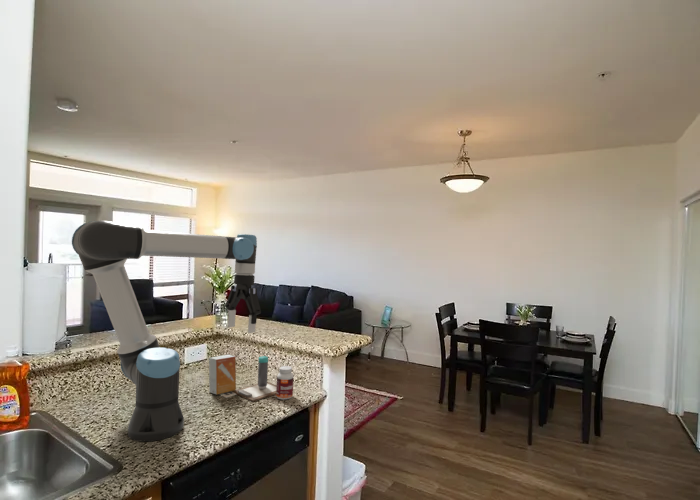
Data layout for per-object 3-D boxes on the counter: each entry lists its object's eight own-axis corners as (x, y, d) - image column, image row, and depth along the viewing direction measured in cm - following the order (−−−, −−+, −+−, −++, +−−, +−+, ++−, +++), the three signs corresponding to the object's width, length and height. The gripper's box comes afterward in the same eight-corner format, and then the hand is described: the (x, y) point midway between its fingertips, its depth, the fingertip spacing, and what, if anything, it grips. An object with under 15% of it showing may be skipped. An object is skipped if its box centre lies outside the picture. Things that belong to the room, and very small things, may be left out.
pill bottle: (279, 401, 143) (280, 371, 143) (273, 395, 149) (274, 366, 149) (295, 398, 147) (296, 369, 147) (289, 393, 152) (289, 364, 152)
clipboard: (252, 401, 142) (252, 398, 142) (232, 392, 150) (232, 388, 150) (286, 390, 154) (286, 387, 154) (265, 382, 163) (266, 379, 163)
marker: (263, 390, 152) (264, 359, 152) (255, 388, 153) (256, 358, 153) (269, 387, 155) (270, 357, 155) (261, 385, 157) (262, 355, 157)
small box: (216, 395, 145) (215, 359, 146) (209, 392, 150) (208, 357, 151) (236, 390, 151) (235, 355, 152) (228, 387, 156) (228, 354, 157)
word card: (226, 397, 145) (226, 396, 145) (218, 394, 148) (218, 393, 148) (242, 392, 150) (242, 391, 150) (234, 389, 154) (234, 388, 154)
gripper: (272, 276, 146) (269, 333, 146) (235, 272, 163) (231, 323, 162) (255, 276, 141) (252, 336, 140) (218, 272, 157) (215, 325, 156)
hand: (241, 329), depth 151 cm, fingers open, 13 cm apart
